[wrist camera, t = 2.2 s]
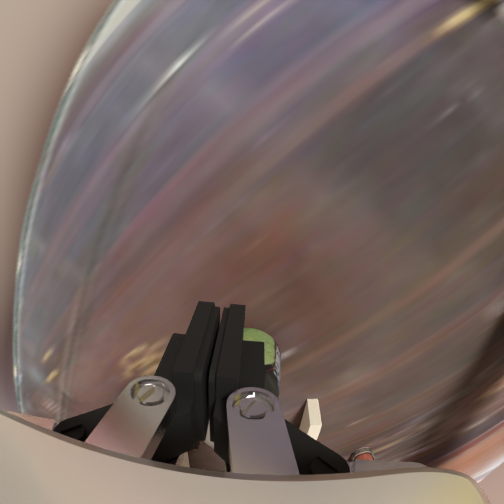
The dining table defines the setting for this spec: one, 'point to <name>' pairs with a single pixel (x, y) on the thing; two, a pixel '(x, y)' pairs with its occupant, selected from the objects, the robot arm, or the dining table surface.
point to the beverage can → (270, 365)
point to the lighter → (363, 454)
